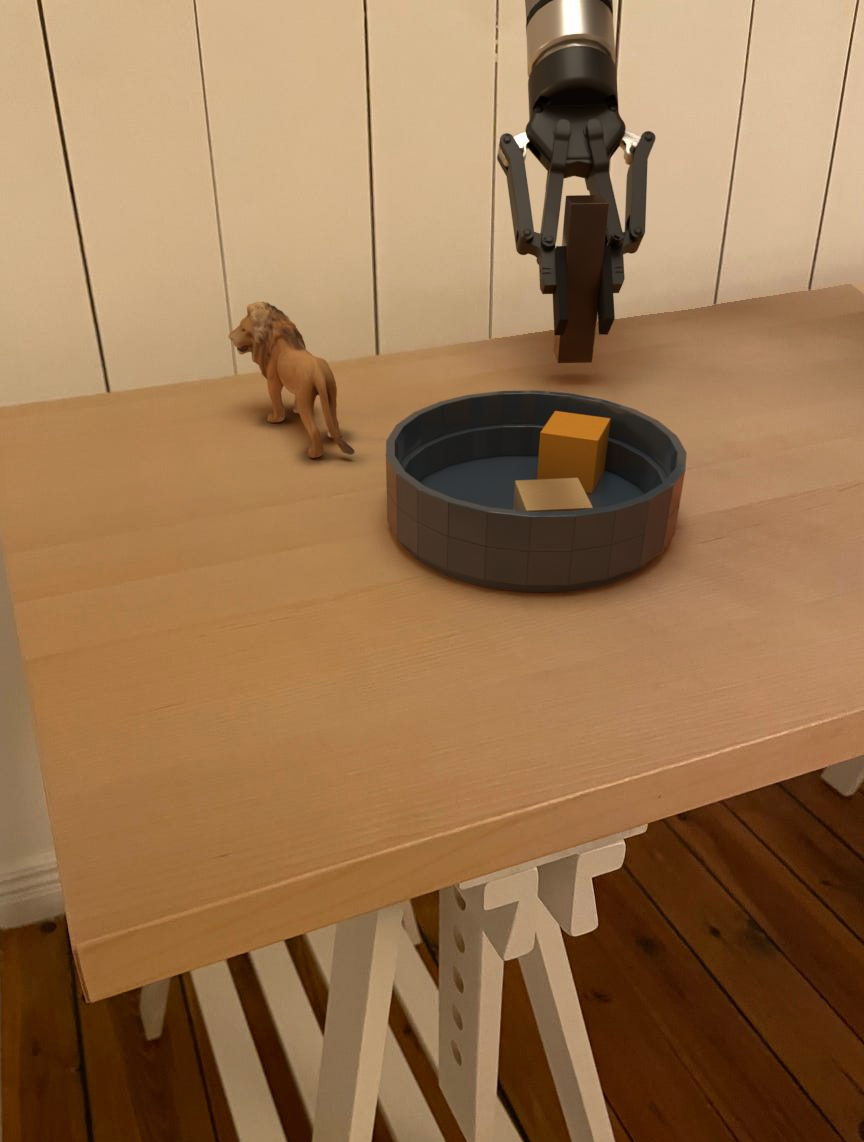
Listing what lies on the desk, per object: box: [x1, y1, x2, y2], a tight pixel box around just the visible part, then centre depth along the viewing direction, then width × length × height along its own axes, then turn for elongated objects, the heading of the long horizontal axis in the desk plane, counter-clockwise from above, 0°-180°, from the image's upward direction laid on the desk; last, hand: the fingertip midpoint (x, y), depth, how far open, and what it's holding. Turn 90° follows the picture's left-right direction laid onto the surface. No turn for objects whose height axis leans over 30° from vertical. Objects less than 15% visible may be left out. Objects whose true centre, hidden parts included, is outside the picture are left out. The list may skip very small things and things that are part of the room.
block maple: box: [513, 478, 593, 512], centre depth 63 cm, size 4×4×4 cm
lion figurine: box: [228, 301, 356, 459], centre depth 79 cm, size 15×5×9 cm, turn 36°
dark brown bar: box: [552, 194, 609, 364], centre depth 85 cm, size 3×3×13 cm
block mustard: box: [537, 411, 611, 494], centre depth 71 cm, size 4×4×4 cm
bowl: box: [385, 389, 687, 593], centre depth 67 cm, size 19×19×6 cm
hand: (584, 326), depth 83 cm, fingers closed on dark brown bar, 3 cm apart
